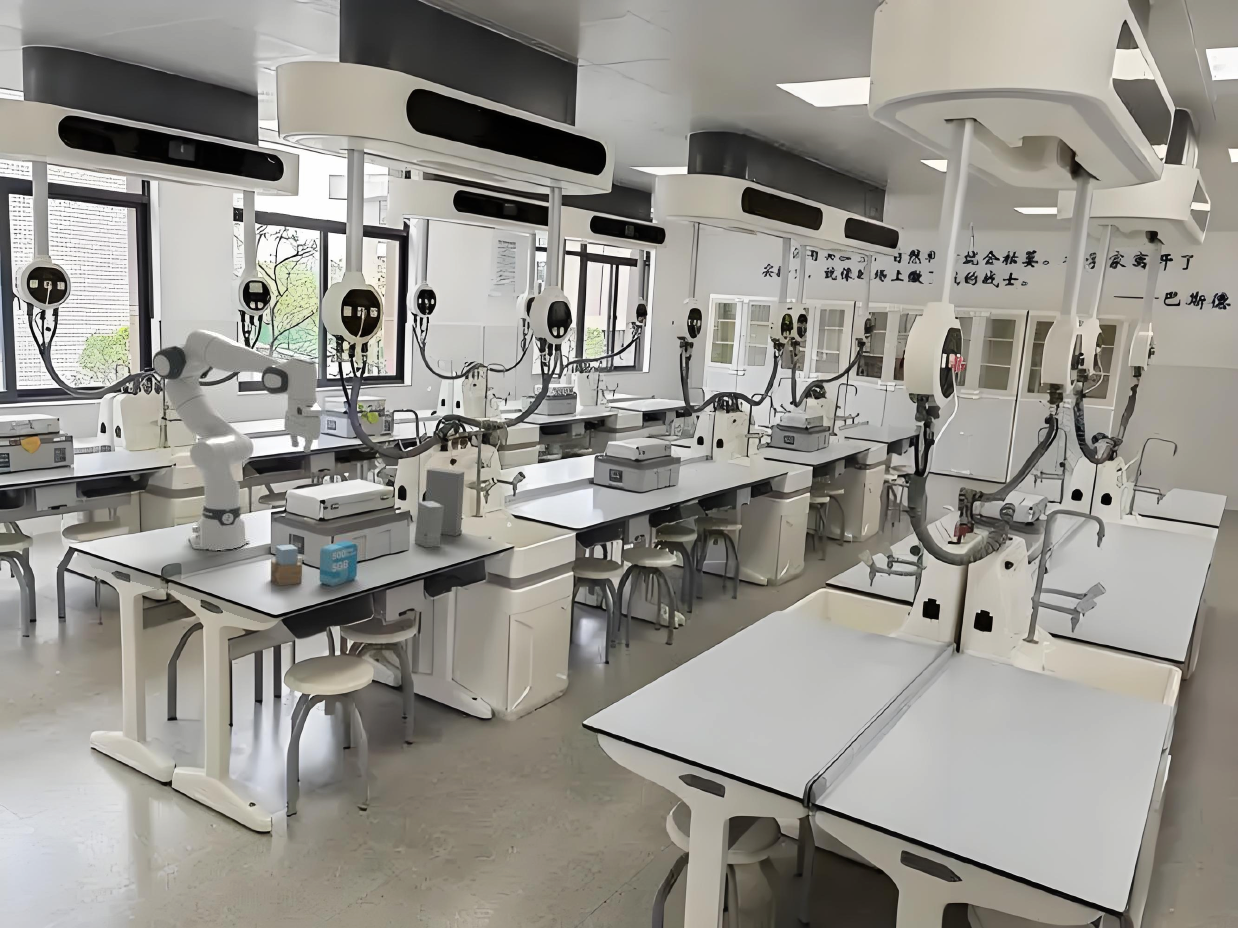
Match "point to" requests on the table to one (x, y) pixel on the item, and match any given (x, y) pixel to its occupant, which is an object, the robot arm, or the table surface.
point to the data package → (338, 563)
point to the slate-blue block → (286, 555)
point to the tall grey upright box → (447, 497)
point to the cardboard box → (286, 573)
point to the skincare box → (429, 524)
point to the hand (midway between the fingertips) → (300, 449)
